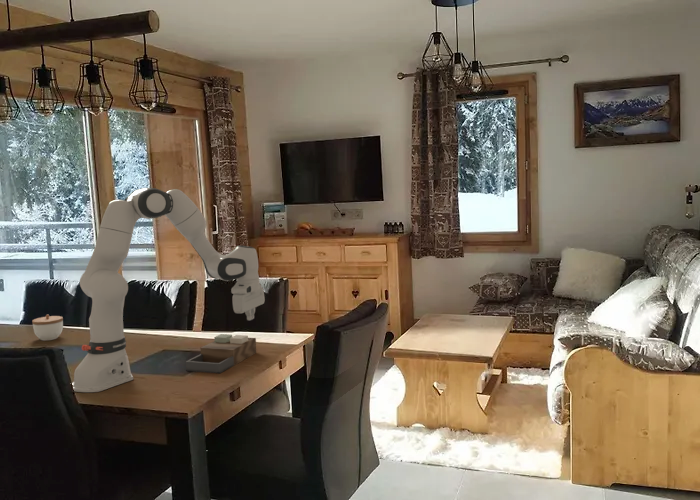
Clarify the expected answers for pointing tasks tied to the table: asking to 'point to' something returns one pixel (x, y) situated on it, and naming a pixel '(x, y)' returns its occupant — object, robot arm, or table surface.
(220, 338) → the sage tile
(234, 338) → the cream tile
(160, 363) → the table surface
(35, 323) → the lidded bowl
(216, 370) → the box
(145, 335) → the table surface
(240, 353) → the brown flat block
